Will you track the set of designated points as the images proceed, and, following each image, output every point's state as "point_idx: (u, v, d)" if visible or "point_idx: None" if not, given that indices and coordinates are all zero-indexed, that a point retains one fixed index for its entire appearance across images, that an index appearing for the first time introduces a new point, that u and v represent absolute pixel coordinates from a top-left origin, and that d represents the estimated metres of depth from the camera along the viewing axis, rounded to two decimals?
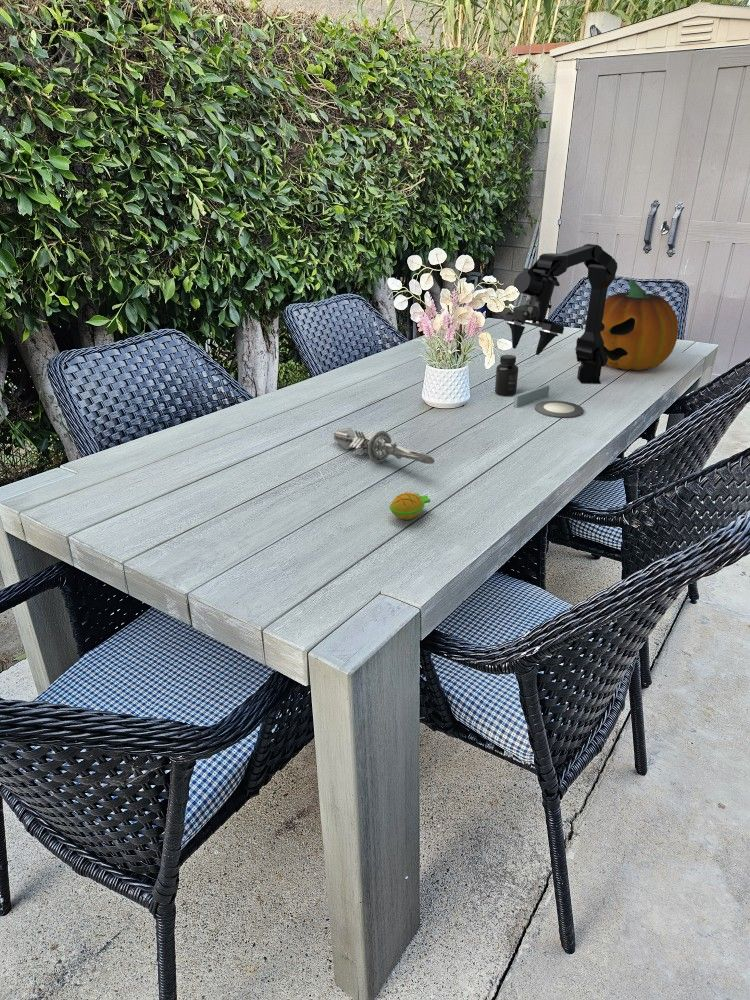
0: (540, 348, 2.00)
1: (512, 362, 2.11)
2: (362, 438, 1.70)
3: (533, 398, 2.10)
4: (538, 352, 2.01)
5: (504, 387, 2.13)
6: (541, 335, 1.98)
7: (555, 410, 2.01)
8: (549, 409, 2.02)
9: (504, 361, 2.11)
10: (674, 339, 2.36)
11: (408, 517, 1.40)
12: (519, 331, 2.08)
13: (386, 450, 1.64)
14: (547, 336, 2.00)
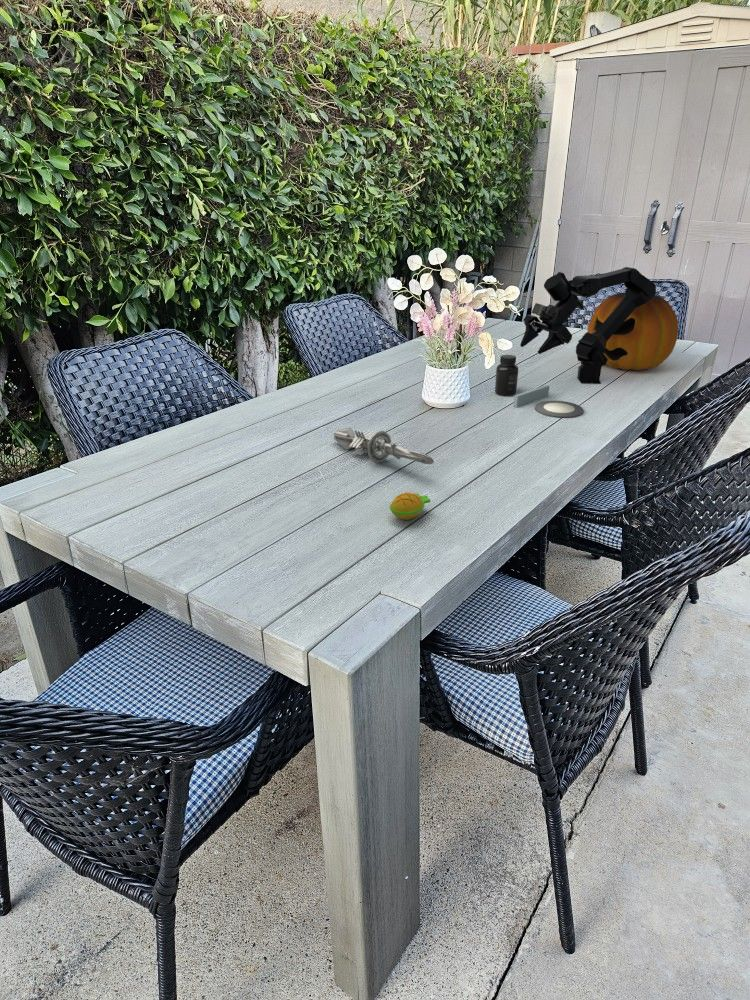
0: (543, 348, 2.10)
1: (512, 362, 2.11)
2: (362, 438, 1.70)
3: (533, 398, 2.10)
4: (540, 351, 2.10)
5: (504, 387, 2.13)
6: (549, 335, 2.08)
7: (555, 410, 2.01)
8: (549, 409, 2.02)
9: (504, 361, 2.11)
10: (674, 339, 2.36)
11: (408, 517, 1.40)
12: (532, 335, 2.18)
13: (386, 450, 1.64)
14: (554, 340, 2.10)
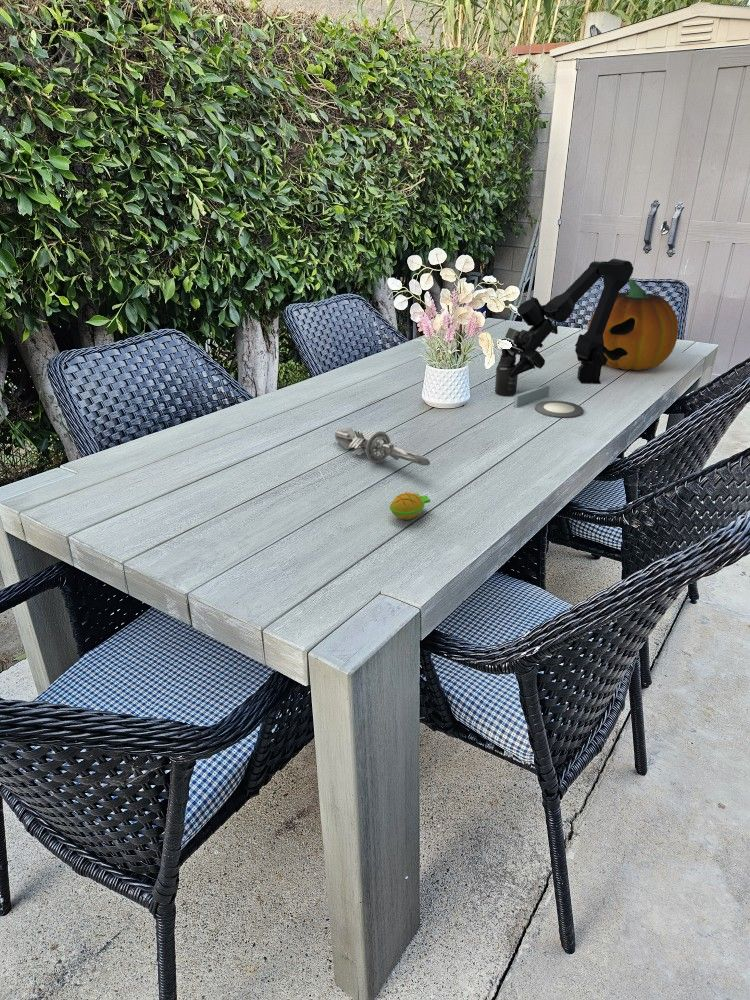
0: (514, 371, 2.10)
1: (512, 362, 2.11)
2: (361, 438, 1.70)
3: (533, 398, 2.10)
4: (511, 374, 2.11)
5: (504, 387, 2.13)
6: (520, 359, 2.09)
7: (555, 410, 2.01)
8: (549, 409, 2.02)
9: (504, 361, 2.11)
10: (674, 339, 2.36)
11: (408, 517, 1.40)
12: None
13: (384, 451, 1.64)
14: (525, 364, 2.10)
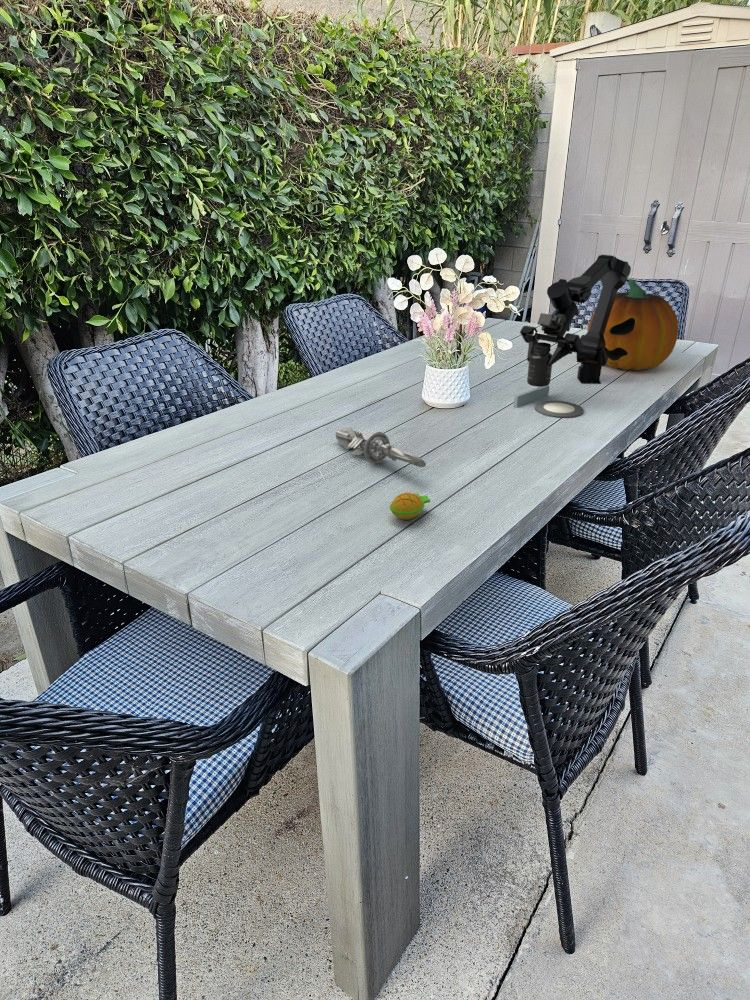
0: (553, 359, 1.98)
1: (549, 350, 1.99)
2: (361, 438, 1.70)
3: (533, 398, 2.10)
4: (551, 362, 1.99)
5: (542, 377, 2.01)
6: (558, 346, 1.98)
7: (555, 410, 2.01)
8: (549, 409, 2.02)
9: (541, 349, 1.98)
10: (674, 339, 2.36)
11: (408, 517, 1.40)
12: None
13: (382, 451, 1.64)
14: (562, 350, 1.99)
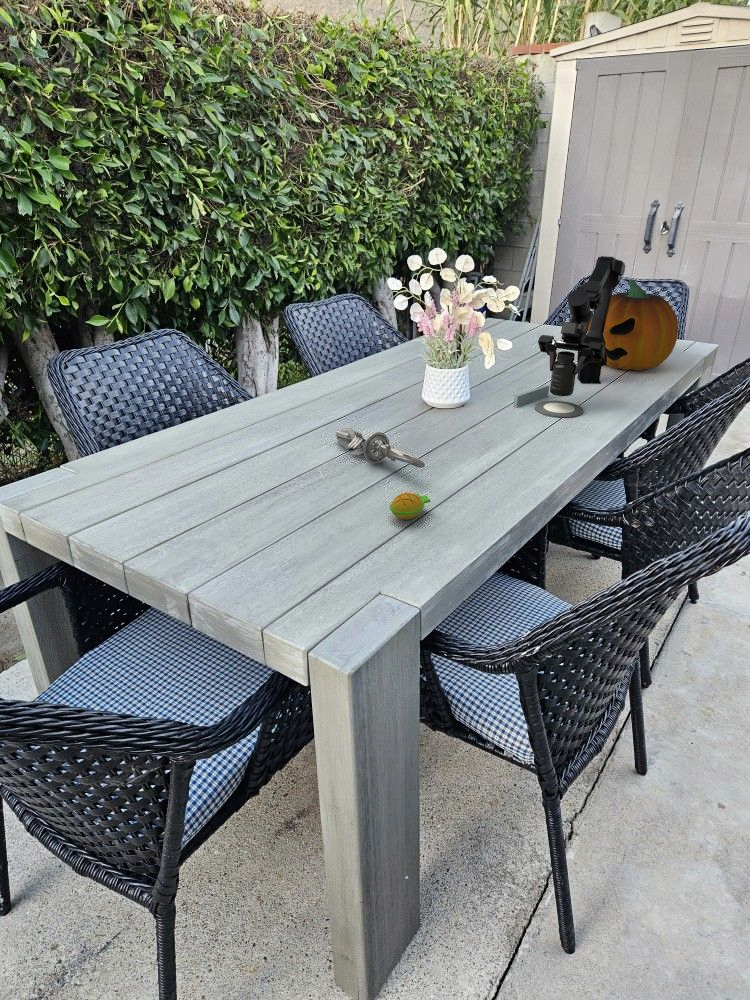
0: (579, 368, 1.96)
1: (573, 358, 1.96)
2: (360, 439, 1.69)
3: (533, 398, 2.10)
4: (576, 371, 1.96)
5: (568, 387, 1.97)
6: (583, 354, 1.95)
7: (555, 410, 2.01)
8: (549, 409, 2.02)
9: (567, 359, 1.94)
10: (674, 339, 2.36)
11: (408, 517, 1.40)
12: (555, 357, 2.01)
13: (381, 451, 1.63)
14: (585, 358, 1.97)
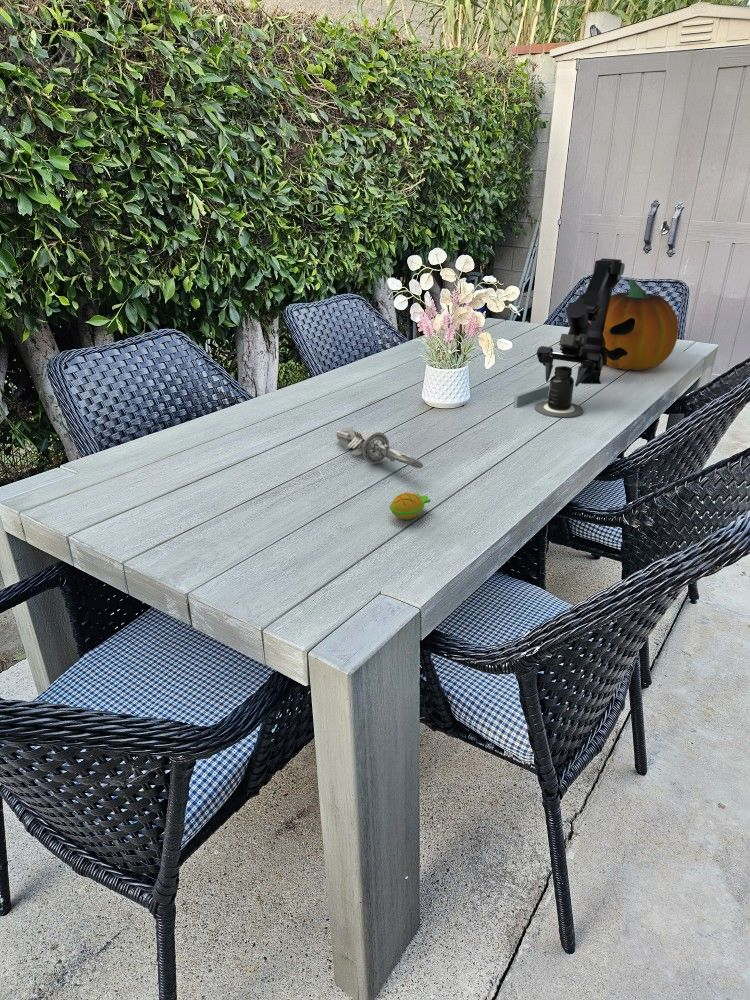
0: (580, 379, 1.97)
1: (571, 373, 1.98)
2: (360, 439, 1.69)
3: (533, 398, 2.10)
4: (577, 383, 1.97)
5: (565, 401, 1.99)
6: (584, 366, 1.96)
7: (555, 410, 2.01)
8: (549, 409, 2.02)
9: (564, 374, 1.97)
10: (674, 339, 2.36)
11: (408, 517, 1.40)
12: (551, 367, 2.03)
13: (381, 452, 1.63)
14: (586, 370, 1.98)
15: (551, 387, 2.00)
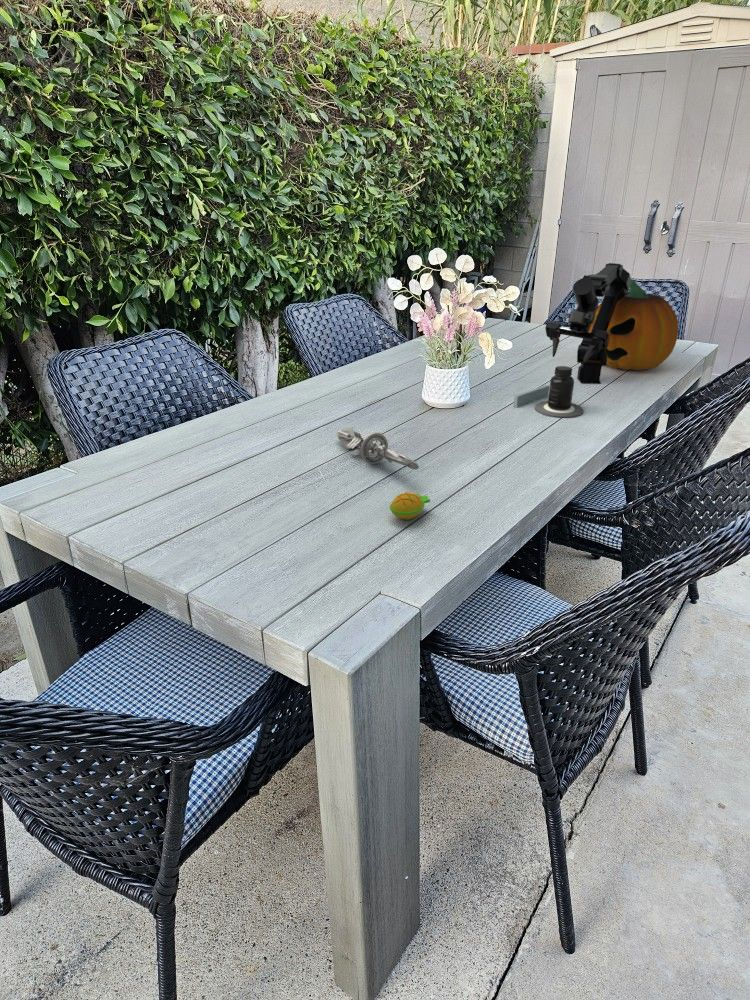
0: (587, 356, 2.03)
1: (571, 373, 1.98)
2: (359, 439, 1.69)
3: (533, 398, 2.10)
4: (585, 360, 2.03)
5: (565, 401, 1.99)
6: (592, 343, 2.02)
7: (555, 410, 2.01)
8: (549, 409, 2.02)
9: (565, 374, 1.97)
10: (674, 339, 2.36)
11: (408, 517, 1.40)
12: (557, 342, 2.08)
13: (379, 452, 1.63)
14: (593, 347, 2.04)
15: (551, 387, 2.00)
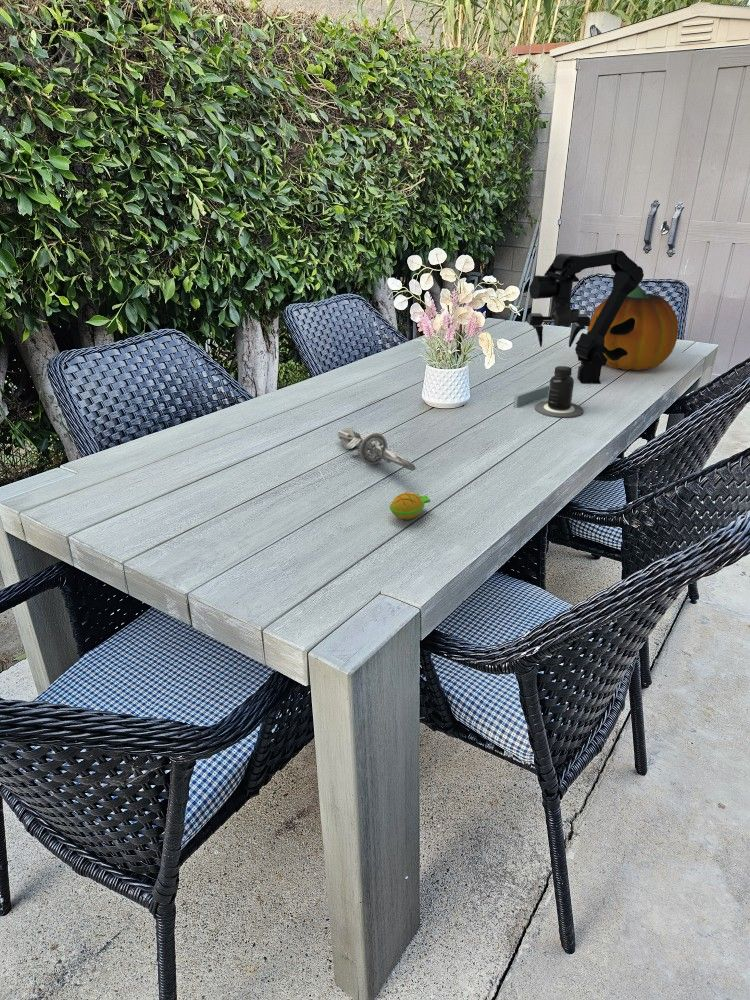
0: None
1: (571, 373, 1.98)
2: (359, 439, 1.69)
3: (533, 398, 2.10)
4: None
5: (565, 401, 1.99)
6: (576, 330, 2.15)
7: (555, 410, 2.01)
8: (549, 409, 2.02)
9: (564, 373, 1.97)
10: (674, 339, 2.36)
11: (408, 517, 1.40)
12: None
13: (377, 453, 1.63)
14: None
15: (551, 387, 2.00)
